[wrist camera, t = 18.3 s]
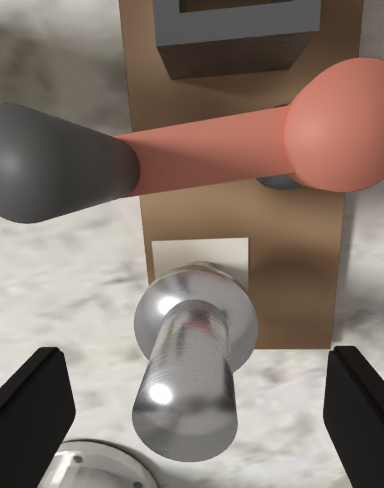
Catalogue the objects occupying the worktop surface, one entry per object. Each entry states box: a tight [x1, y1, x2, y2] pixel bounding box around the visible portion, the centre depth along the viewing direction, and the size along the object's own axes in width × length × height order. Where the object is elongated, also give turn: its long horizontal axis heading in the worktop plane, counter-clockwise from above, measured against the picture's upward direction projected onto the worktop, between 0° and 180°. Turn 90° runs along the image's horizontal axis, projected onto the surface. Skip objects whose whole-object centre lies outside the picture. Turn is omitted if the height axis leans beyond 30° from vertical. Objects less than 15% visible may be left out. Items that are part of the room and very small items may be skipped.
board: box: [119, 0, 363, 349], centre depth 15 cm, size 26×12×1 cm, turn 3°
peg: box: [132, 261, 258, 462], centre depth 12 cm, size 6×6×10 cm
